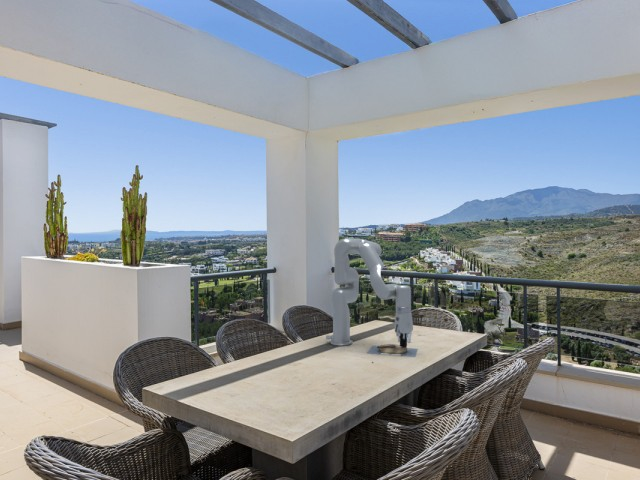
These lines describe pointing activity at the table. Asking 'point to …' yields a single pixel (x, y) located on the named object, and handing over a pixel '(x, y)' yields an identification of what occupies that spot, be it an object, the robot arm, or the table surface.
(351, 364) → the table surface
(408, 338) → the cup
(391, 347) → the crank wheel
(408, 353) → the blue-grey base board
